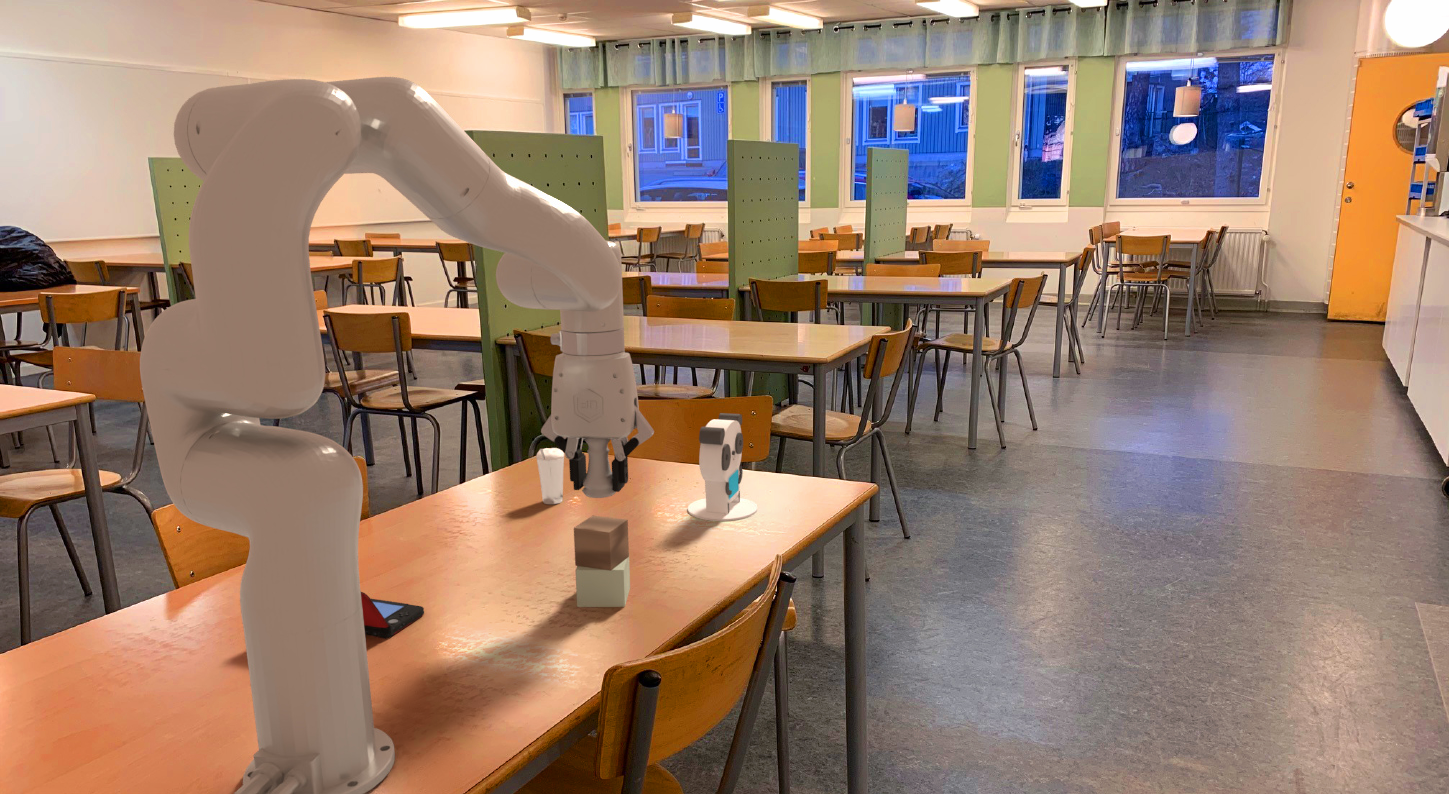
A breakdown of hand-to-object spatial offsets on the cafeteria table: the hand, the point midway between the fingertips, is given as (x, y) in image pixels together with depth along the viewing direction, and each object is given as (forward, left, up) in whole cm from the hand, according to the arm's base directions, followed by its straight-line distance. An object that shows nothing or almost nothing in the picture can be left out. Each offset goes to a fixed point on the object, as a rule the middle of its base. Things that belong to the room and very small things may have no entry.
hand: (599, 486), depth 121 cm
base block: (0, 0, -15) cm, 15 cm away
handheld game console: (-12, +27, -15) cm, 34 cm away
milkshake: (+36, +20, -15) cm, 44 cm away
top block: (0, 0, -10) cm, 10 cm away
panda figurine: (+36, -9, -15) cm, 40 cm away
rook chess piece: (0, 0, -1) cm, 1 cm away
